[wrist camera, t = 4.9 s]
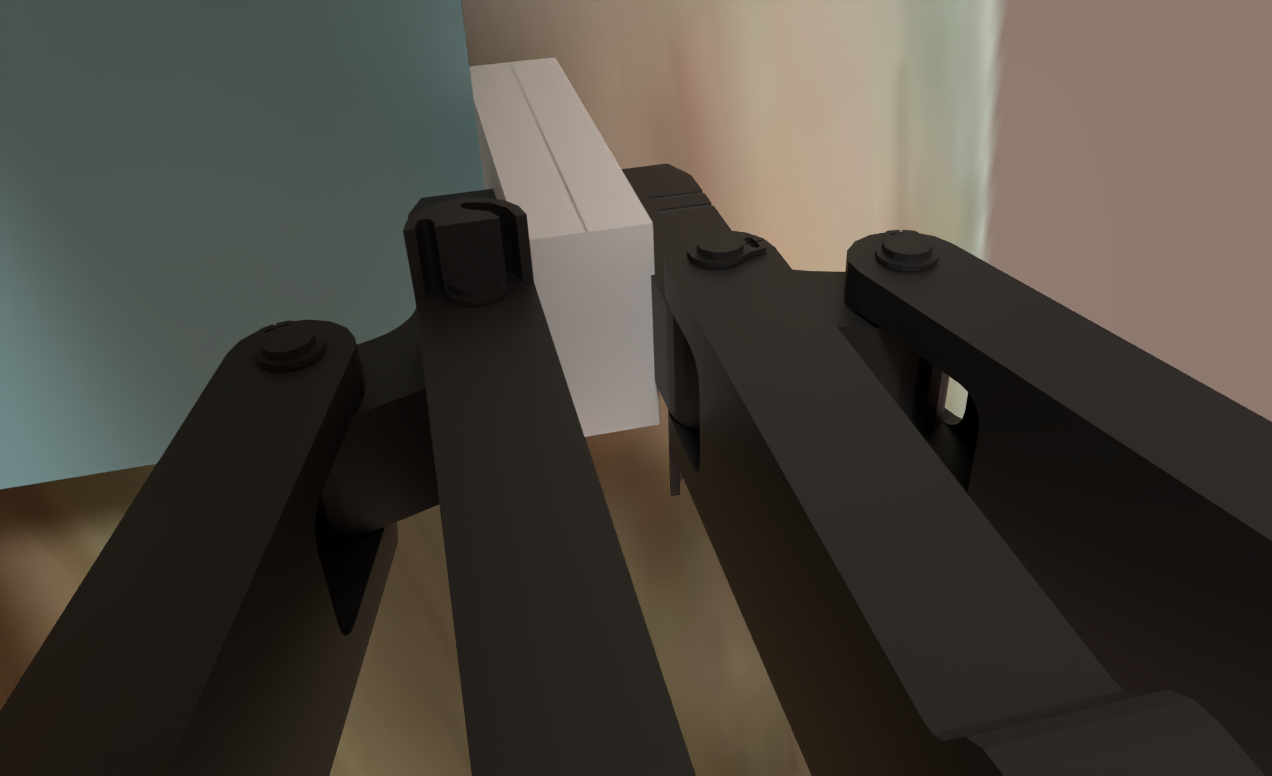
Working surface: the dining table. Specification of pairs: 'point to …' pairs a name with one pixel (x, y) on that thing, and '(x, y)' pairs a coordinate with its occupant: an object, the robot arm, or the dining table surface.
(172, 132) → the slate blue rectangular box
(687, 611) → the dining table surface
